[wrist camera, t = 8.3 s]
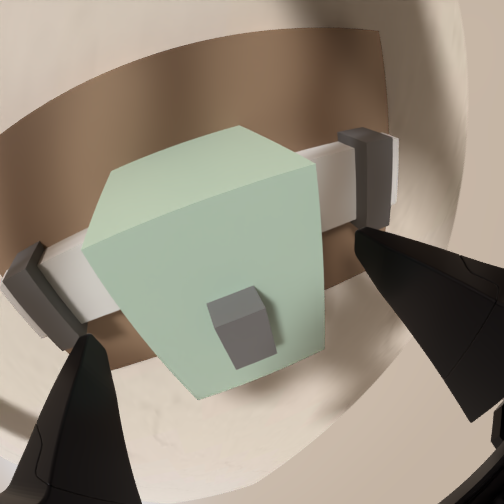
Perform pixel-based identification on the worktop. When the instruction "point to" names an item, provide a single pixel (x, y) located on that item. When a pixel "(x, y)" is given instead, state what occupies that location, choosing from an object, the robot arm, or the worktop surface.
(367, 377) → the worktop surface
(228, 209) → the block
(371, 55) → the rail board
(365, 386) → the worktop surface
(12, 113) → the worktop surface
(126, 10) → the worktop surface
